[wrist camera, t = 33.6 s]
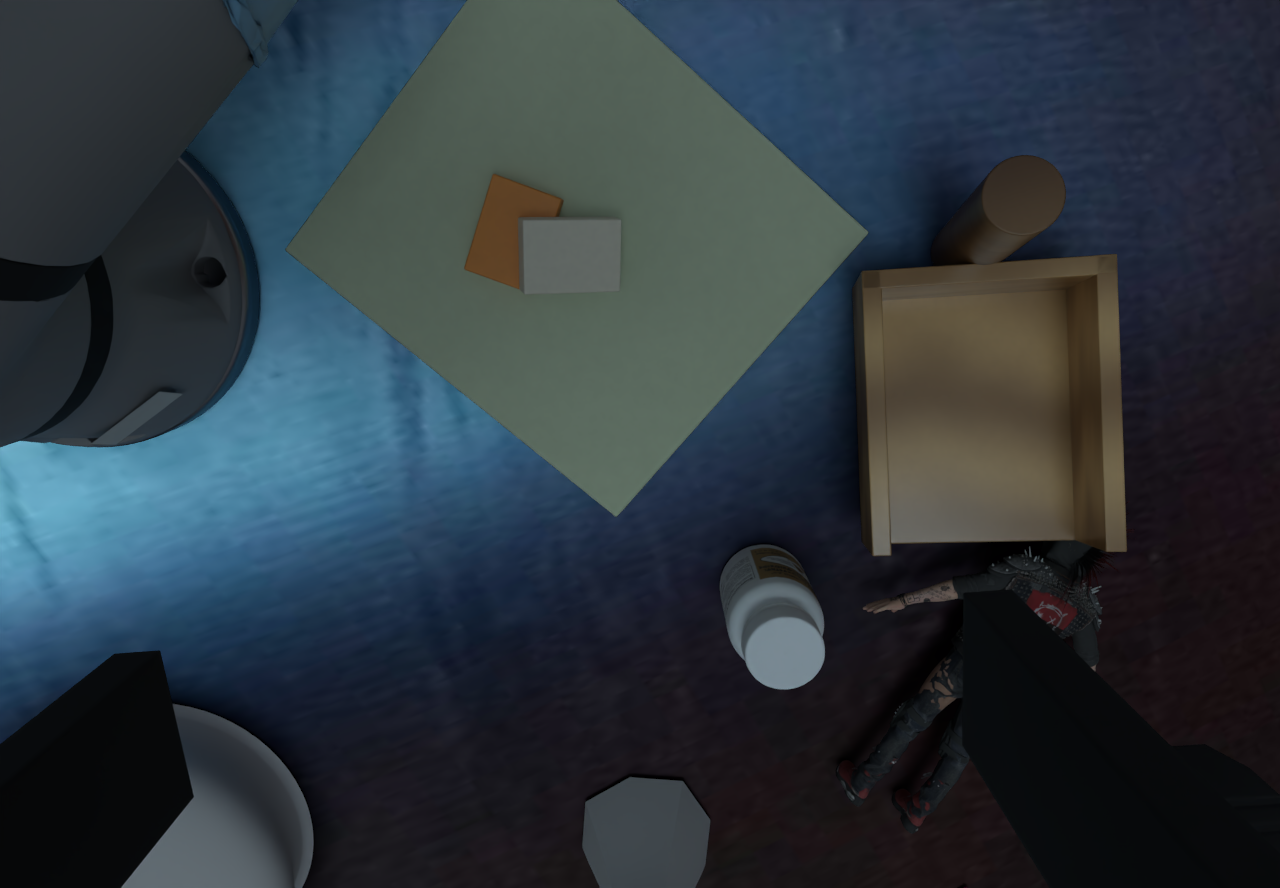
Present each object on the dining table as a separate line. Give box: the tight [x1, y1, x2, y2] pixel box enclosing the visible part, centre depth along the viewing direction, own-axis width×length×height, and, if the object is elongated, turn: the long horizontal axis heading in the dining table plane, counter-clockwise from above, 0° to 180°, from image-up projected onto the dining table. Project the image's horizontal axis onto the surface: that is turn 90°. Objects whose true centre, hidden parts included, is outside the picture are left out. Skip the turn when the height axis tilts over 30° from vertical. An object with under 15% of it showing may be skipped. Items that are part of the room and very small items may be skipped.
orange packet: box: [464, 174, 564, 290], centre depth 39 cm, size 4×3×1 cm
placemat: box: [285, 0, 868, 517], centre depth 40 cm, size 20×18×1 cm
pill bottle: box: [720, 545, 825, 689], centre depth 41 cm, size 4×4×8 cm
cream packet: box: [518, 217, 621, 295], centre depth 39 cm, size 4×3×1 cm
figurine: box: [836, 501, 1133, 834], centre depth 43 cm, size 13×6×20 cm
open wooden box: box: [852, 155, 1127, 556], centre depth 35 cm, size 15×10×10 cm
